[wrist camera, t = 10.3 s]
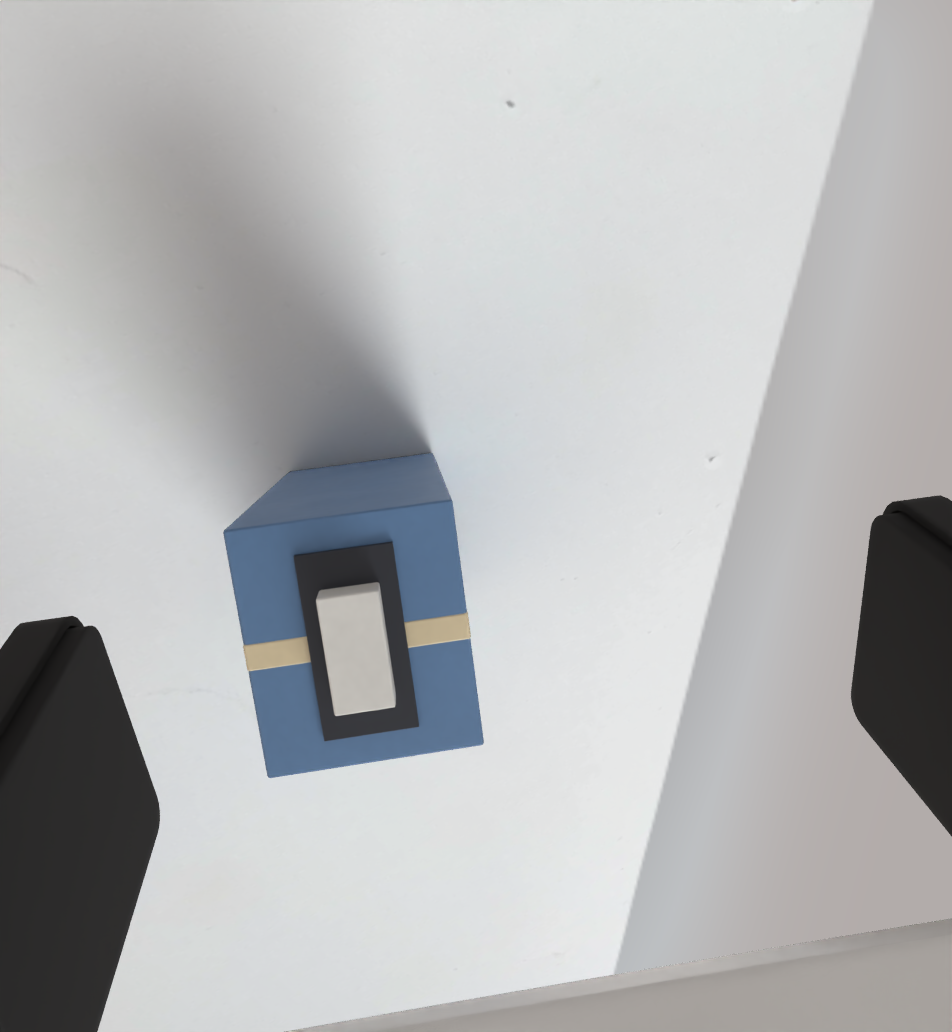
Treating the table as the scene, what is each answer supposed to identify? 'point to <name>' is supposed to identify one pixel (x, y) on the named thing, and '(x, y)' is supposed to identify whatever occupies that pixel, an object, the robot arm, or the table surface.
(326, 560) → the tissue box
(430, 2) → the table surface
